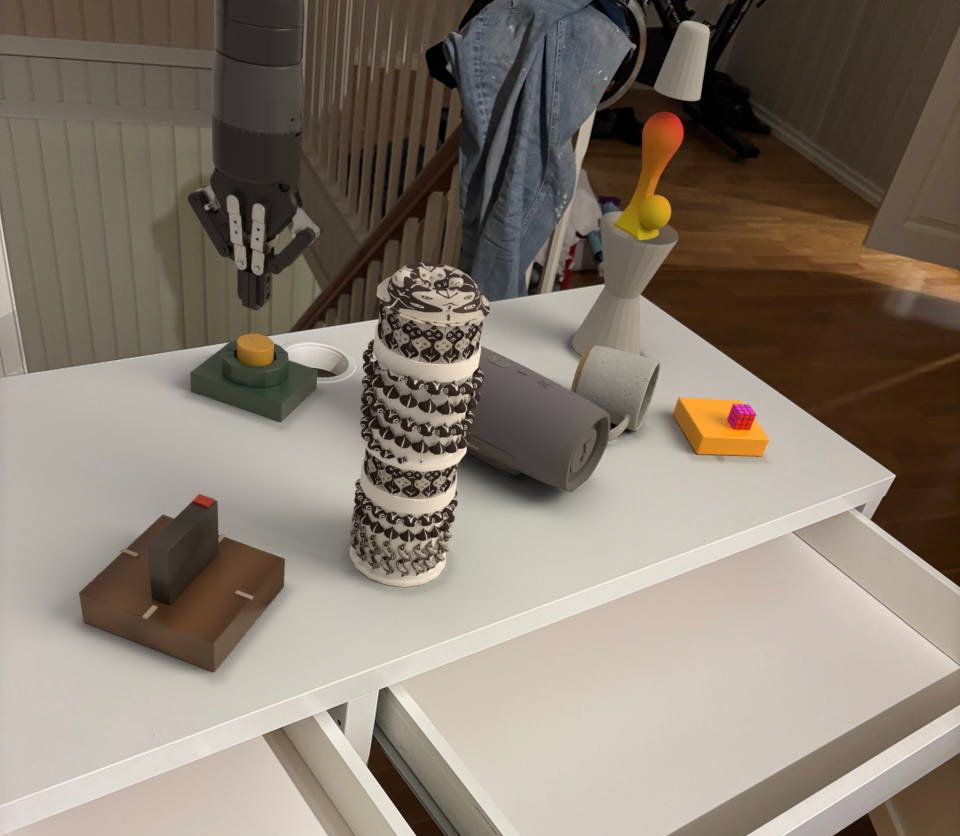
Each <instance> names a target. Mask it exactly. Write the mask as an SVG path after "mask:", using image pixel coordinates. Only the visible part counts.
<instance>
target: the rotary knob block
mask: <svg viewBox="0 0 960 836" xmlns="http://www.w3.org/2000/svg"><path fill="white" fill-rule="evenodd" d="M174 518H175V517H172V516H169V515H165V514H162V515H160V516H159V517H158V518H157V519H156V520H155V521H154V522H152V524H151V525H150V526H148V528H146V529H145V530H144V531H143V532H142V533H141V534H139V536H138V537H137V538H135V540H133V541H132V542H131V543H130V544H129V545H128V546H127V547H126V548H124V547H122V548H121V549H120V550H119V553H120V554H118V555H117V557H115V558H114V559H113V560H112V561H111V562H110V563H109V564H108V565H107V566H106V567H104V568H103V570H102V571H100V572H99V573H98V574H97V575H96V576H95V577H94V578H93V579H91V581H90V582H88V583H87V585H85V587H83V588H82V589H81V590H80V591H79V593H78V595H79V602H80V607H81V609H80V610H81V615H82V620H83V623H85V624H88V625H90V626H93V627H95V628H99V629H101V630H103V631H105V632H106V631H107V632H108V633H111V634H114V635H116V636H119V637H121V638H125V639H127V640H129V641H132V642H135V643H137V644H139V645H143V646H145V647H148V648H150V649H153V650H155V651H158V652H160V653H163V654H166V655H169V656H171V657H173V658H177V659H178V660H182V661H184V662H187V663H188V664H189V663H190V664H192V665H195V666H197V667H200V668H202V669H205V670H207V671H211V672H213V673H215V672H216V671H217V669H218V668H220V666H221V665H222V663H223V662H224V661H225V660H226V658H228V656H229V655H230V654H231V652H232V651H233V650H234V648H236V646H237V645H238V644H239V643H240V642H241V640H242V639H243V637H245V635H246V634H247V633H248V632H249V630H250V629H251V628H252V627H253V625H255V623H256V622H257V621H258V620H259V618H260V617H261V615H262V614H263V613H264V612H265V611H266V610H267V608H268V607H269V605H270V604H271V603H272V602H273V601H274V599H275V598H276V597H277V595H278V594H279V593H280V592H281V591H282V590H283V589H284V587H285V570H286V569H285V568H286V558H285V557H282V556H279V555H276V554H273V553H270V552H267V551H265V550H262V549H260V548H257V547H254V546H251V545H248V544H245V543H243V542H240V541H237V540H235V539H232V538H229V537H227V534H226V533H223V532H222V533H220V534H218V535H219V553H218V554H217V555H216V556H215V557H214V558H213V559H212V560H211V561H210V562H209V563H208V564H207V566H206V567H205V568H204V569H203V570H202V571H201V572H200V573H199V574H198V575H197V576H196V577H195V579H194V580H193V581H192V582H191V583H190V584H189V585H188V586H187V587H186V588H185V589H184V590H183V592H182V593H181V594H180V595H179V596H178V597H177V598H176V599H175V600H174V601H173V602H172V603H171V604H168V603H165V602H163V601H160V600H157V599H155V598H152V595H151V584H150V572H149V561H148V550H147V545H148V544H149V543H150V542H151V541H152V540H153V539H154V538H155V537H156V536H157V535H158V534H159V533H160V532H161V531H162V530H163V529H164V528H165V527H166V526H167V525H168V524H169V523H170V522H171V521H172V520H173V519H174Z"/></svg>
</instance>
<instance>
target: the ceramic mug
mask: <svg viewBox="0 0 960 836" xmlns="http://www.w3.org/2000/svg"><path fill="white" fill-rule="evenodd" d="M580 357H581V358H580V360H579V362H578V365H577V367H576V369H575V372H574V373H575V374H574V375H573V379H572V382H571V388H570V390H571V391H572V392H574V393H576V394H578V395H580V396H582V397H584V398H585V399H587V400H589V401H591V402H592V403H594V404H595V405H597V406H598V407H600V408H601V409H603V410H604V411H606V412H607V413H609V414H610V419H611V424H613V425H615V427H614V428H611V429H610V435H609V440H608V443H609V442H612V441H613V440H615V439H617V438H618V437H619V436H620V435H621V434H622V433H623V432H624V430H626V429H627V430H630V431H633V432H637V431H639V429H640V427H641V426H642V424H643V422H644V420H645V418H646V415H647V413H648V411H649V408H650V406H651V403H652V401H653V397H654V394H655V390H656V387H657V383H658V379H659V376H660V372H661V361H660V360H659V359H657V358H653V357H648V356H644V355H641V354H640V355H636V354H632V353H628V352H624V351H620V350H616V349H613V348H609V347H604V346H591V347H589V348H588V349H587V350H586V351H585V352H584V354H583V355H582V356H580Z"/></svg>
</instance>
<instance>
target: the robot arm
mask: <svg viewBox="0 0 960 836" xmlns="http://www.w3.org/2000/svg"><path fill="white" fill-rule="evenodd" d="M213 23H214V24H213V36H214V37H213V38H214V39H213V41H214V42H213V43H214V47H213V49H214V50H213V62H212V69H211V137H212V138H211V147H212V149H211V150H212V151H211V153H212V154H211V155H212V163H213V166H214V168H213V172H212V173H211V175H210V178H209V185H204V186H202V187H200V188H198V189H196V190H194V191H193V192H191V193H189V194H188V195H187V202H188V203H189V205H190V207H191V208H192V210H193V212H194V214H195V215H196V217H197V220H198V221H199V222H200V224H201V226H202V227H203V229H204V231H205V232H206V234H207V236H208V238H209V239H210V241H211V243H212V245H213V246H214V248H215V249H216V251H217V252H218V255H219V256H221V258H222V257H223V258H228V259H230V260H231V261H233V262H234V264H235V267H236V268H237V269H236V270H237V273H236V274H237V283H236V285H237V290H236V291H237V292H236V293H237V296H238V299H239V300H241V306H242V307H244V308H247V309H249V310H252V311H256V312H257V311H259V310H260V309H262V308H263V307H264V306H265V305H266V304H267V303H269V302H270V300H271V298H272V280H273V278H272V277H273V275H279V274H280V273H282V272H283V271H284V270H285V269H286V268H289V267H290V266H291V265H292V264H294V262H296V261H297V260H298V259H299V258H300V256H302V255H303V254H304V253H305V252H306V251H307V250H308V249H309V248H310V247H311V246H312V245H313V244H314V243H315V242H316V241H317V240H318V239H319V238H320V237H321V236H322V235H323V234H324V230H325V229H324V226H323V224H322V223H321V222H319V221H314V222H313V221H312V219H311V218H310V217H309V215H308V214H307V213H306V212H305V211H304V210H303V206H304V200H303V196H302V195H301V191H300V186H299V183H300V177H301V170H302V169H301V165H302V147H303V128H304V127H303V125H304V124H303V123H304V119H305V107H304V103H305V82H304V70H303V65H304V64H303V58H304V40H305V39H304V38H305V0H213ZM291 222H292V223H293V224H292V228H290V237H291V238H292V240H290V242H289V243H288V244H287V245H286V246H285V247H284V248H283V249H282V250H281V251H280V252H279V253H277V250H278V249H277V248H278V244H279V243H280V239H281V234H282V232H283V231H284V230H285V229H286V228H287V227H288V226H289V225H290V224H291Z"/></svg>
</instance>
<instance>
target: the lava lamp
mask: <svg viewBox="0 0 960 836" xmlns="http://www.w3.org/2000/svg"><path fill="white" fill-rule="evenodd" d="M710 35H711V31H710V28H709V27H708V25H705V24H703V23H701V22H698V21H693V20H684V21H682V22H681V23H680V24H679V25H678V27H677V30H676V32H675V35H674V37H673V39H672V42H671V44H670V47H669V49H668V51H667V53H666V56H665V58H664V61H663V64H662V66H661V68H660V71H659V74H658V76H657V78H656V81H655V83H654V86H653V89H654V90H655V91H656V92H657V93H659V94H661V95H663V96H666V97H668V98H672V99H674V100H676V99H677V100H679V101H680V100H681V101H687V102H696V101H700V100H701V96H702V89H703V82H704V77H705V76H704V75H705V69H706V62H707V56H708V49H709V43H710V37H711V36H710ZM641 133H642V136H641V142H642V143H641V146H642V149H641V152H642V154H641V155H642V156H641V157H642V161H641V162H642V163H641V171H640V172H641V173H640V175H639V178H638V183H637V186H636V189H635V191H634V193H633V195H632V198H631V200H630V202H629V204H627V207H626V208H625V209H624V210H620V211H619V210H618V211H617V210H616V211H609V212H607V213H604V214H602V216H601V217H600V235H601V251H602V266H603V280H604V287H603V288H602V290H601V292H600V293H599V295H598V297H597V298H596V300H595V302H594V303H593V305H592V307H591V308H590V310H589V311H588V313H587V315H586V316H585V318H584V320H583V321H582V323H581V325H580V326H579V327H578V329H577V331H576V333H575V334H574V336H573V337H572V339H571V347H572V348H573V349H574V352H576V353H577V354H578V355H579V356H580V357H582V355H583V354H584V352H585V351H586V350H587V349H588V348H589V347H591V346H604V347H609V348H613V349H616V350H620V351H624V352H628V353H632V354H636V355H640V356H641V315H640V314H641V307H640V306H641V305H640V304H641V303H640V296H641V295H642V293H643V292H644V290H645V289H646V287H647V286H648V284H649V283H650V281H651V280H652V278H653V277H654V276H655V274H656V273H657V271H658V270H659V268H660V267H661V266H662V264H663V263H664V261H665V260H666V258H667V257H668V255H669V254H670V253H671V252H672V250H673V248H674V247H675V246H676V244H677V243H678V240H679V233H678V231H677V230H676V229H675V228H674V227H673V226H671V225H670V224H668V223H669V221H670V219H671V217H672V207H671V204H670V201H669V200H668V199H667V198H666V197H664V196H662V195H660V194H655V191H656V188H657V186H658V182H659V179H660V177H661V175H662V174H663V172H664V170H665V168H666V166H667V165H668V163H669V161H670V160H671V159H672V158H673V156H674V155H675V154H676V153H677V151H678V149H679V148H680V146H681V145H682V142H683V140H684V126H683V124H682V121H681V119H680V118H679V117H678V116H677V115H676V114H674V113H672V112H670V111H660V112H657V113H655V114H653V115H652V116H651V117H649V118H648V120H647V121H646V122H645V123H644V126H643V128H642V132H641Z"/></svg>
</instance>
